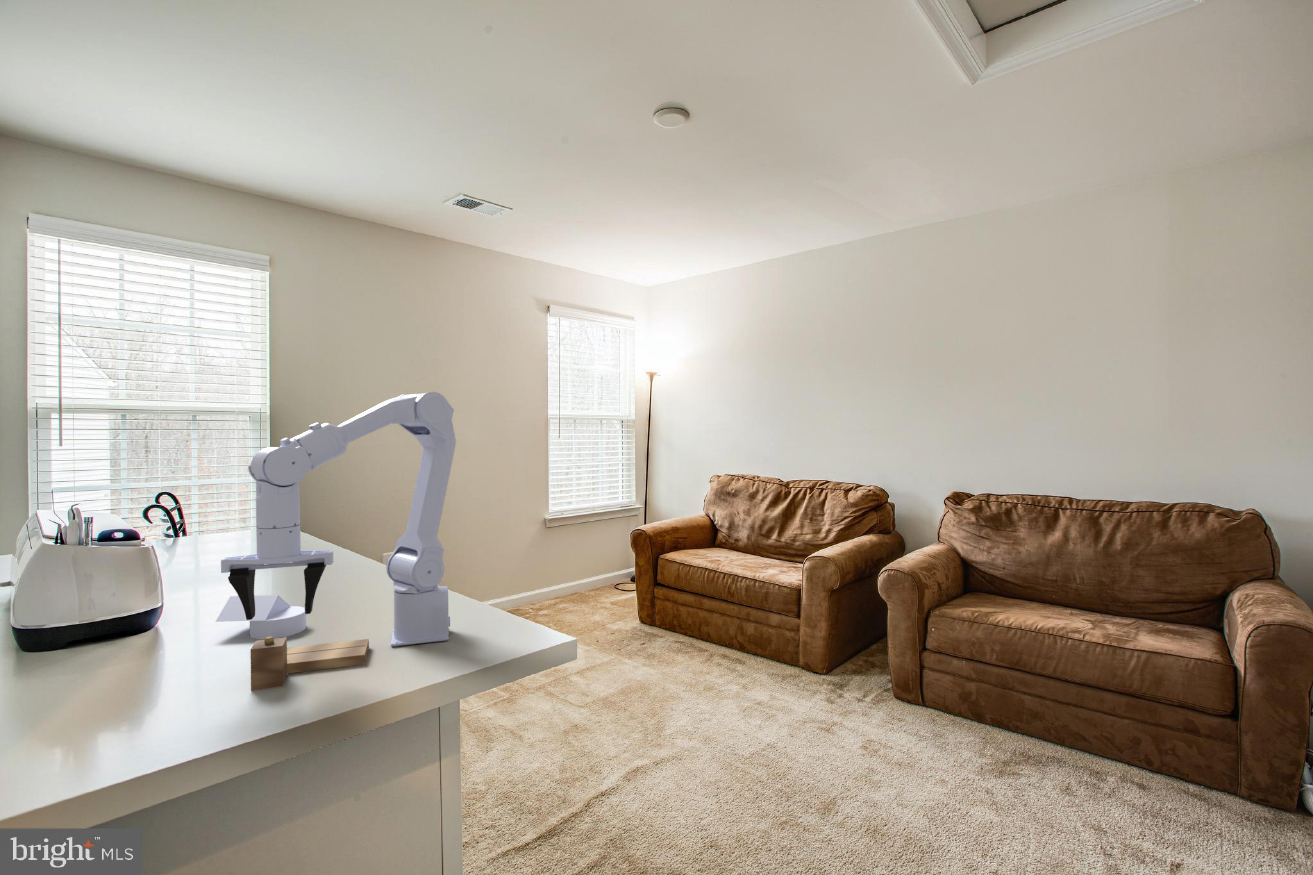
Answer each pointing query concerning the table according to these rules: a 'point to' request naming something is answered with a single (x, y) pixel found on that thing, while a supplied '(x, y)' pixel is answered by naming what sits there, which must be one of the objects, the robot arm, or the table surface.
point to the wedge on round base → (267, 616)
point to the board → (327, 655)
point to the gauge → (268, 663)
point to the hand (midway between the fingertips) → (280, 615)
